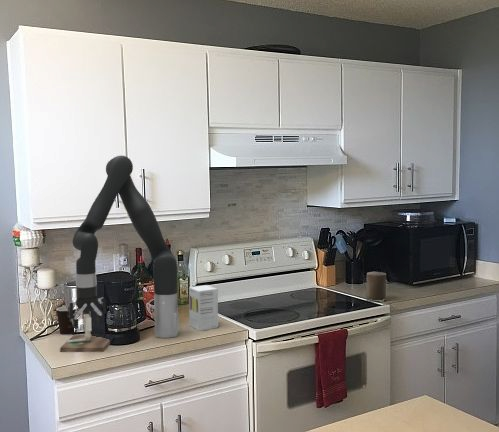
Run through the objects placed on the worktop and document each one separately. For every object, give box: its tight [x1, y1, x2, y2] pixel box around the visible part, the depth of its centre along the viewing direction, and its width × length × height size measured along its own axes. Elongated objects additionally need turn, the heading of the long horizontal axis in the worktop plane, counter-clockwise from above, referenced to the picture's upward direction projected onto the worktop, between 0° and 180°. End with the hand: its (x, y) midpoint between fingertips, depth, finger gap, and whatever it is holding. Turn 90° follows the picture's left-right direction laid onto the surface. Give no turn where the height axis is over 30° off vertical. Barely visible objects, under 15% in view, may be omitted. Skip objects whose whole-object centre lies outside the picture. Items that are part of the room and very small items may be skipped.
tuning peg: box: [66, 313, 92, 343], centre depth 219 cm, size 8×6×9 cm
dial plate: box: [59, 334, 111, 353], centre depth 221 cm, size 16×16×2 cm
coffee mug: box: [56, 305, 76, 335], centre depth 239 cm, size 12×9×10 cm
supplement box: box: [188, 284, 219, 331], centre depth 245 cm, size 10×9×17 cm
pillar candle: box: [365, 270, 387, 300], centre depth 292 cm, size 10×10×15 cm
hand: (87, 326), depth 221 cm, fingers open, 8 cm apart
